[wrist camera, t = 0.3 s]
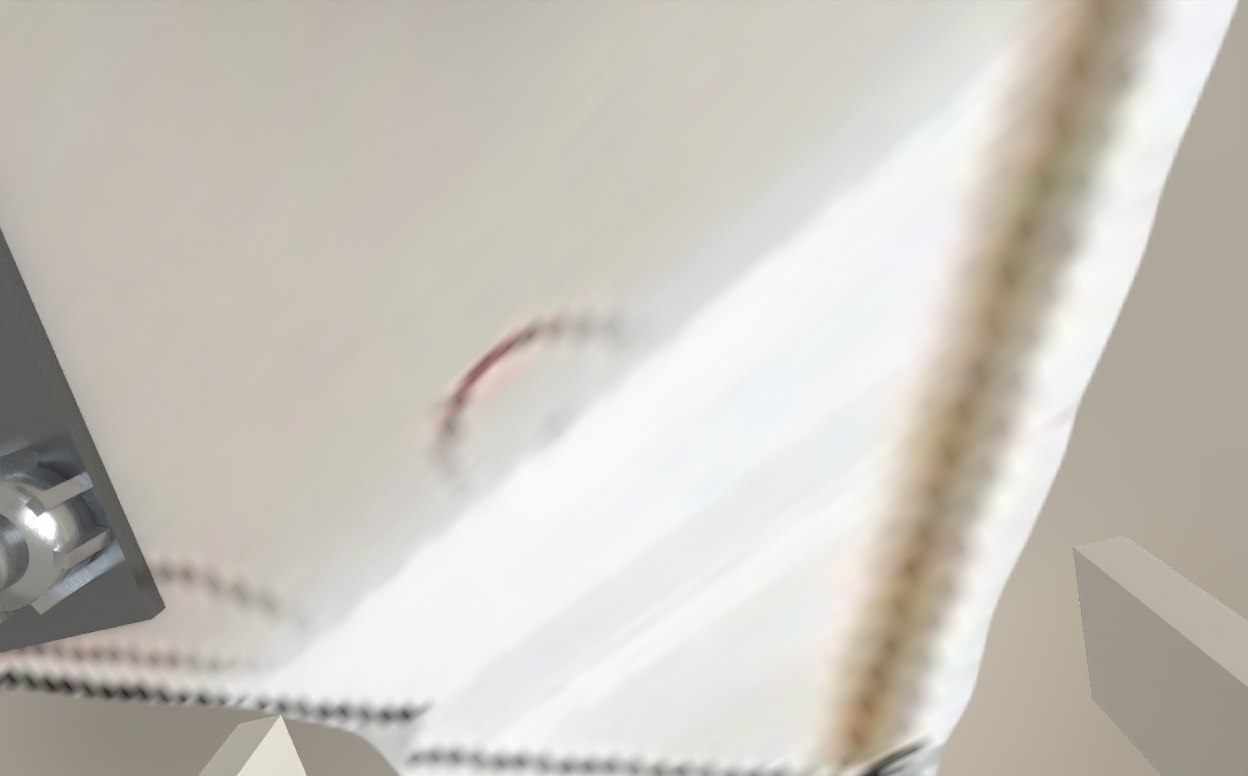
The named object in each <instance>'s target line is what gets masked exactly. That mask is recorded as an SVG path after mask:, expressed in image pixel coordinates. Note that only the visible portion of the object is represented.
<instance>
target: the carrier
mask: <svg viewBox="0 0 1248 776" xmlns="http://www.w3.org/2000/svg"><path fill="white" fill-rule="evenodd" d="M163 609H165V606H164V603H163V601H162V599H161V596H160V594H159V592H158V590H157V587H156V585H155V583H154V580H153V578H152V576H151V574H150V571H149V569H148V567H147V564H146V562H145V560H144V557H143V555H142V553H141V551H140V548H139V546H138V544H137V541H136V539H135V537H134V535H133V532H132V530H131V528H130V525H129V523H128V521H127V518H126V516H125V514H124V512H123V509H122V507H121V505H120V502H119V500H118V498H117V495H116V493H115V491H114V489H113V486H112V484H111V482H110V479H109V477H108V475H107V473H106V470H105V468H104V466H103V463H102V461H101V459H100V456H99V454H98V452H97V450H96V447H95V445H94V443H93V440H92V438H91V436H90V434H89V431H88V429H87V427H86V424H85V422H84V420H83V417H82V415H81V413H80V411H79V408H78V406H77V404H76V401H75V399H74V397H73V395H72V392H71V390H70V388H69V385H68V383H67V381H66V378H65V376H64V374H63V372H62V369H61V367H60V365H59V362H58V360H57V358H56V356H55V353H54V351H53V349H52V346H51V344H50V342H49V339H48V337H47V335H46V333H45V330H44V328H43V326H42V323H41V321H40V319H39V316H38V314H37V312H36V310H35V307H34V305H33V303H32V300H31V298H30V296H29V294H28V291H27V289H26V287H25V284H24V282H23V280H22V277H21V275H20V273H19V271H18V268H17V266H16V264H15V261H14V259H13V257H12V255H11V252H10V250H9V248H8V245H7V243H6V241H5V238H4V236H3V234H2V232H1V229H0V652H4V651H8V650H13V649H17V648H22V647H26V646H31V645H36V644H40V643H45V642H49V641H54V640H58V639H63V638H67V637H72V636H76V635H81V634H86V633H90V632H95V631H99V630H104V629H108V628H113V627H117V626H122V625H126V624H131V623H136V622H140V621H145V620H149V619H152V618H154V617H155V616H156V615H157V614H159V613H160V612H161V611H162V610H163Z"/></svg>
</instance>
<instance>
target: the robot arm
mask: <svg viewBox="0 0 1248 776" xmlns="http://www.w3.org/2000/svg"><path fill="white" fill-rule="evenodd" d="M1073 554H1074V561H1075V569H1076V577H1077V585H1078V593H1079V601H1080V608H1081V616H1082V625H1083V632H1084V640H1085V648H1086V656H1087V663H1088V671H1089V680H1090V687H1091V695H1092V699H1093V700H1094V701H1095V702H1096V704H1097V705H1098V706H1099V707H1100V708H1101V709H1102V710H1103V711H1104V712H1105V714H1106V715H1107V716H1108V717H1109V718H1110V719H1111V720H1112V721H1113V722H1114V723H1115V725H1116V726H1117V727H1118V728H1119V729H1120V730H1121V731H1122V732H1123V734H1124V735H1125V736H1126V737H1127V738H1128V739H1129V740H1130V741H1131V742H1132V743H1133V745H1134V746H1135V747H1136V748H1137V749H1138V750H1139V751H1140V752H1141V753H1142V754H1143V756H1144V757H1145V758H1146V759H1147V760H1148V761H1149V762H1150V763H1151V765H1152V766H1153V767H1154V768H1155V769H1156V770H1157V771H1158V772H1159V773H1160V774H1161V776H1248V621H1247V620H1245V619H1244V618H1242V617H1241V616H1239V615H1238V614H1237V613H1235V612H1234V611H1232V610H1231V609H1229V608H1228V607H1226V606H1225V605H1223V604H1222V603H1221V602H1219V601H1218V600H1216V599H1215V598H1213V597H1212V596H1211V595H1209V594H1208V593H1206V592H1205V591H1203V590H1202V589H1200V588H1199V587H1198V586H1196V585H1195V584H1193V583H1192V582H1190V581H1189V580H1187V579H1186V578H1184V577H1183V576H1182V575H1180V574H1179V573H1177V572H1176V571H1174V570H1173V569H1172V568H1170V567H1169V566H1167V565H1166V564H1164V563H1163V562H1161V561H1160V560H1159V559H1157V558H1156V557H1154V556H1153V555H1151V554H1150V553H1148V552H1147V551H1146V550H1144V549H1143V548H1141V547H1140V546H1138V545H1137V544H1135V543H1134V542H1133V541H1131V540H1130V539H1128V538H1127V537H1125V536H1120V537H1115V538H1110V539H1105V540H1101V541H1096V542H1091V543H1087V544H1082V545H1078V546H1073ZM198 776H306V773H305V771H304V769H303V766H302V764H301V762H300V759H299V757H298V755H297V752H296V750H295V747H294V745H293V743H292V741H291V738H290V736H289V733H288V731H287V729H286V726H285V724H284V722H283V719H282V717H281V715H278V716H273V717H269V718H264V719H259V720H255V721H250V722H245V723H241V724H239V725H238V726H237V727H236V728H235V730H234V731H233V732H232V733H231V735H230V736H229V737H228V739H227V740H226V741H225V742H224V744H223V745H222V746H221V747H220V749H219V750H218V751H217V752H216V754H215V755H214V756H213V758H212V759H211V760H210V761H209V763H208V764H207V765H206V766H205V768H204V769H203V770H202V772H201V773H200V774H199V775H198Z"/></svg>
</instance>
